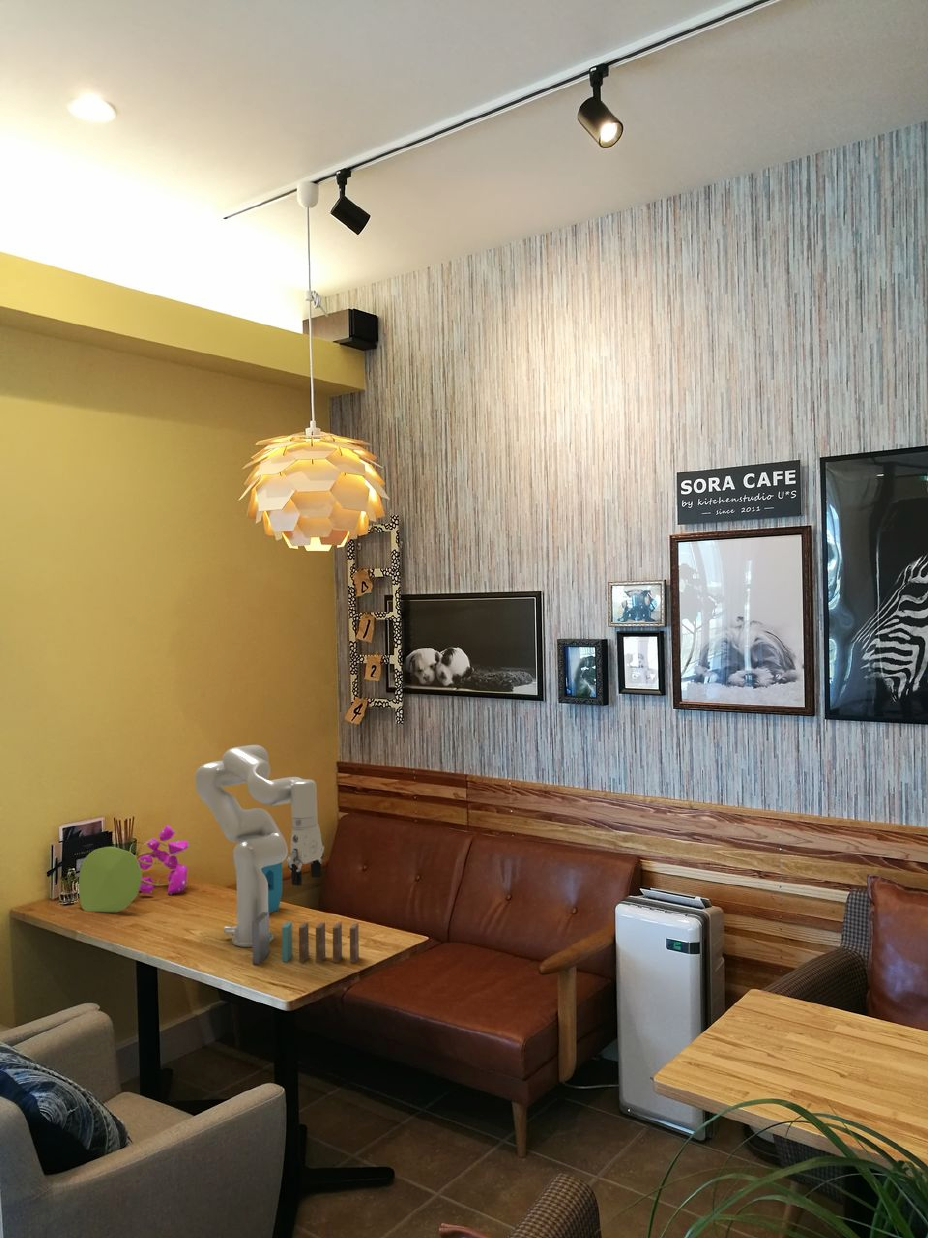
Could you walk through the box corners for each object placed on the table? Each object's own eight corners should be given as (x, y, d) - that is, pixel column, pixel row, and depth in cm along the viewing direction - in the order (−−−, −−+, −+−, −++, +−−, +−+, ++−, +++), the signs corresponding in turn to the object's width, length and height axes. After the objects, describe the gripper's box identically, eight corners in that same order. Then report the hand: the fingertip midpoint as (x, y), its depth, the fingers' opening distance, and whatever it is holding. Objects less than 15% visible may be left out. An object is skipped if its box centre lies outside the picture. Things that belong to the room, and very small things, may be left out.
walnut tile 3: (316, 962, 276) (315, 928, 276) (320, 956, 281) (319, 922, 281) (321, 962, 276) (321, 928, 276) (325, 956, 281) (325, 922, 281)
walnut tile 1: (350, 963, 276) (349, 928, 276) (353, 957, 281) (353, 923, 281) (355, 963, 275) (355, 928, 275) (358, 957, 280) (358, 923, 280)
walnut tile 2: (333, 962, 276) (332, 928, 276) (336, 956, 281) (336, 922, 281) (338, 962, 276) (338, 928, 276) (342, 956, 281) (341, 922, 281)
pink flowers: (85, 820, 335) (153, 816, 367) (61, 899, 334) (131, 887, 366) (149, 849, 323) (213, 842, 355) (124, 931, 322) (191, 916, 354)
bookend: (252, 964, 275) (252, 922, 275) (263, 952, 285) (262, 912, 285) (259, 964, 275) (259, 922, 275) (269, 952, 285) (269, 912, 285)
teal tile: (292, 955, 282) (291, 922, 282) (287, 961, 277) (287, 927, 277) (287, 955, 282) (286, 922, 282) (282, 961, 277) (282, 927, 277)
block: (255, 917, 320) (254, 857, 320) (246, 914, 323) (245, 855, 323) (283, 908, 329) (283, 850, 329) (274, 906, 332) (274, 848, 332)
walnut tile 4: (299, 962, 277) (298, 927, 277) (303, 956, 282) (303, 922, 282) (304, 962, 277) (304, 927, 277) (308, 956, 282) (308, 922, 282)
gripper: (297, 828, 270) (299, 889, 269) (332, 817, 285) (334, 875, 285) (276, 827, 273) (278, 887, 273) (311, 816, 289) (313, 873, 288)
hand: (306, 881), depth 279 cm, fingers open, 9 cm apart
